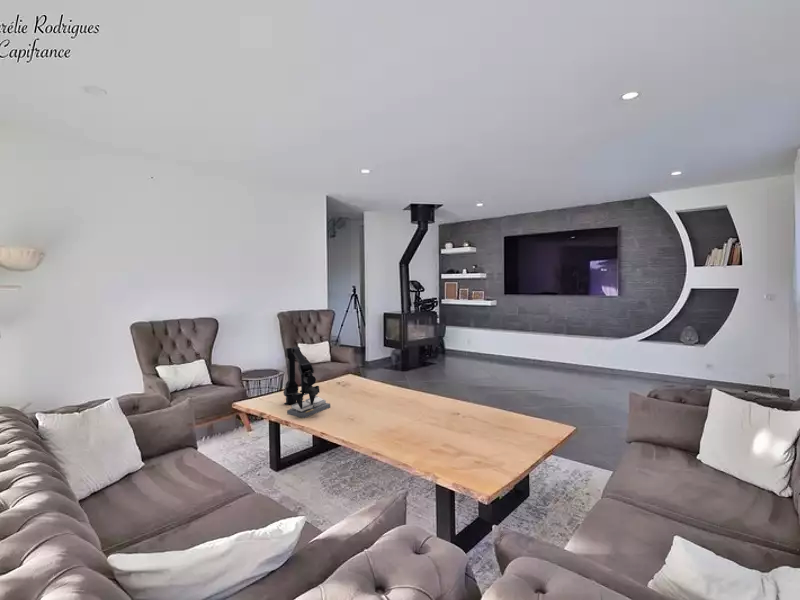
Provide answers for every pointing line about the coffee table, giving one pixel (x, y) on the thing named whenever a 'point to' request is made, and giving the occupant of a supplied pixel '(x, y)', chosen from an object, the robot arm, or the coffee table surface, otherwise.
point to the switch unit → (308, 410)
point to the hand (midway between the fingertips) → (306, 406)
